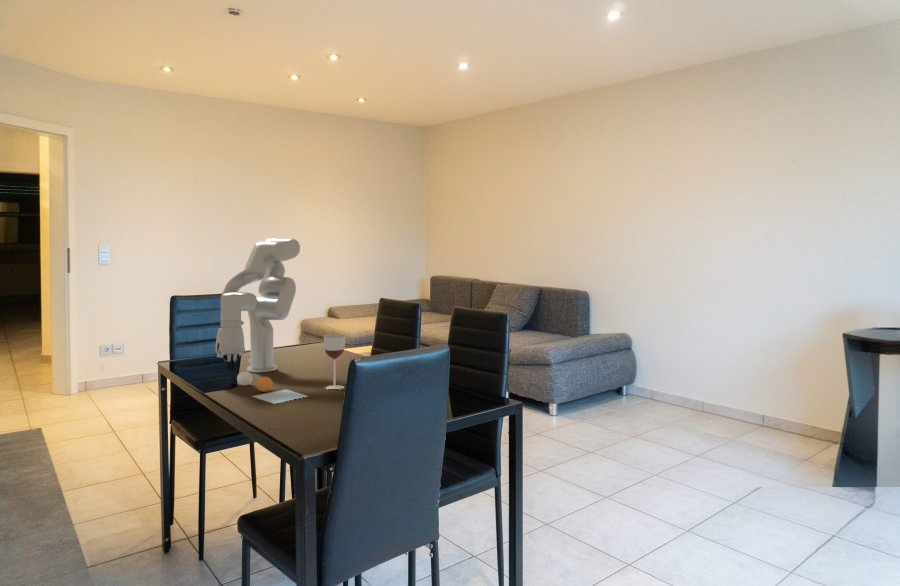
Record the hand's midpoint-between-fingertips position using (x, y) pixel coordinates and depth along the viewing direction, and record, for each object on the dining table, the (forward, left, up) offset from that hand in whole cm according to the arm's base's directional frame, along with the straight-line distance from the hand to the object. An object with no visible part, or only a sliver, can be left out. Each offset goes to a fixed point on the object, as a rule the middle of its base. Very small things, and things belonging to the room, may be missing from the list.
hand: (230, 371), depth 228 cm
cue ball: (+9, +1, -2) cm, 9 cm away
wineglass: (+36, +23, -5) cm, 43 cm away
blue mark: (+33, +1, -4) cm, 33 cm away
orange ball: (+23, +1, -2) cm, 23 cm away
